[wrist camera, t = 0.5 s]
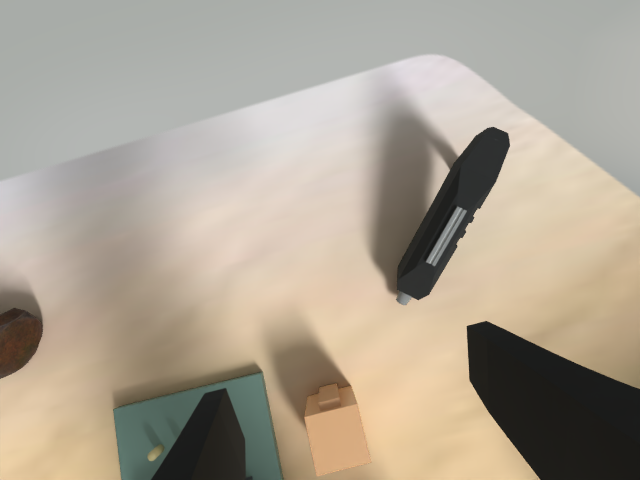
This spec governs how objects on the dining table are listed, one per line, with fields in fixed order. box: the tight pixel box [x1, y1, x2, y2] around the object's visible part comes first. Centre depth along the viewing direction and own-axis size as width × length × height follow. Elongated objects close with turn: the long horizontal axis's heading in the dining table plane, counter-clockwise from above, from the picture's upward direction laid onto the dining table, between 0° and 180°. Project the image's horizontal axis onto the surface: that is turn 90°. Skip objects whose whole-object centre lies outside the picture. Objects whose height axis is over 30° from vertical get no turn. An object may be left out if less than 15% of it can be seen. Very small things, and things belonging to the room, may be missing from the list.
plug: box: [304, 383, 371, 476], centre depth 28 cm, size 5×4×6 cm
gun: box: [396, 127, 510, 305], centre depth 32 cm, size 3×16×10 cm, turn 154°
